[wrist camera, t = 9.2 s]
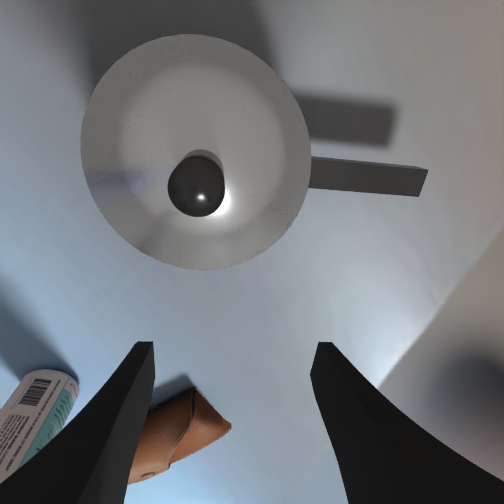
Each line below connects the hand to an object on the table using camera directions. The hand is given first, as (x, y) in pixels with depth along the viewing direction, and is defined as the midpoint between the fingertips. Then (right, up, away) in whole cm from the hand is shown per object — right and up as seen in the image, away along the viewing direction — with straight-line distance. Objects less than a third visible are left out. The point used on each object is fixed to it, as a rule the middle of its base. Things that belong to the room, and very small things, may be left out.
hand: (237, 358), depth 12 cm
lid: (-2, +9, +2) cm, 10 cm away
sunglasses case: (-11, -15, +19) cm, 27 cm away
